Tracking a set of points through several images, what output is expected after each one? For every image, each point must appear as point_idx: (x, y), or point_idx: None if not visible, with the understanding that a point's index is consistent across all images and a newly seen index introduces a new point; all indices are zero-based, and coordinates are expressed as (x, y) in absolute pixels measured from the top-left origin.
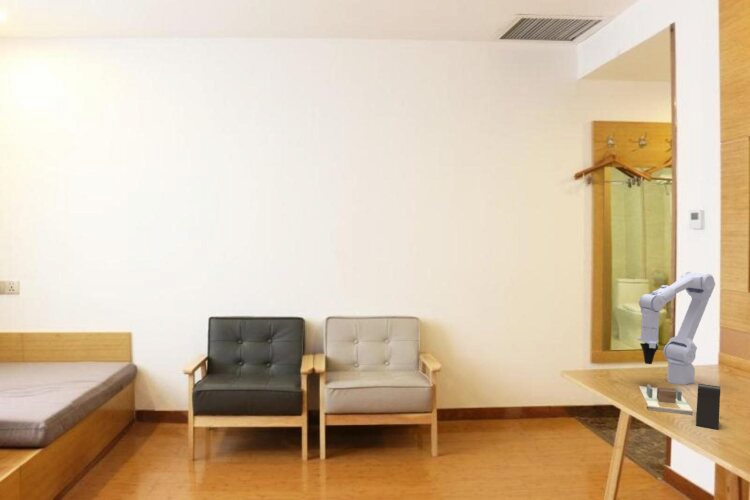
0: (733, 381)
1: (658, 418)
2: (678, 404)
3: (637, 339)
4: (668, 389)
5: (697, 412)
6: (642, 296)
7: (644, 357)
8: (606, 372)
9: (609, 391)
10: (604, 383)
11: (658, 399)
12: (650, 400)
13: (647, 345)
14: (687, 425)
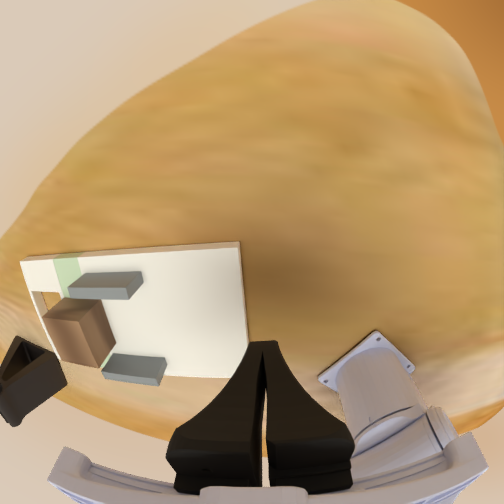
0: None
1: (2, 273)
2: None
3: (265, 488)
4: (68, 347)
5: (7, 353)
6: None
7: (246, 366)
8: (473, 134)
9: (152, 117)
10: (291, 89)
11: (71, 299)
12: (61, 273)
13: (202, 475)
14: (9, 321)
